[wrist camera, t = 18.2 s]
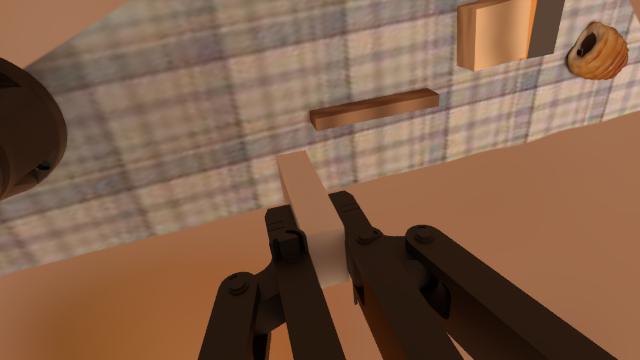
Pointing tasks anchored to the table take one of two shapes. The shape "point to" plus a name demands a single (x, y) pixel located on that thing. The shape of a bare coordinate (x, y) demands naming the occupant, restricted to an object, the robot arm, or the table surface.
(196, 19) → the table surface
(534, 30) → the pad
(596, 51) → the pastry
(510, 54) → the block
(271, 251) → the robot arm
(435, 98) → the lane
